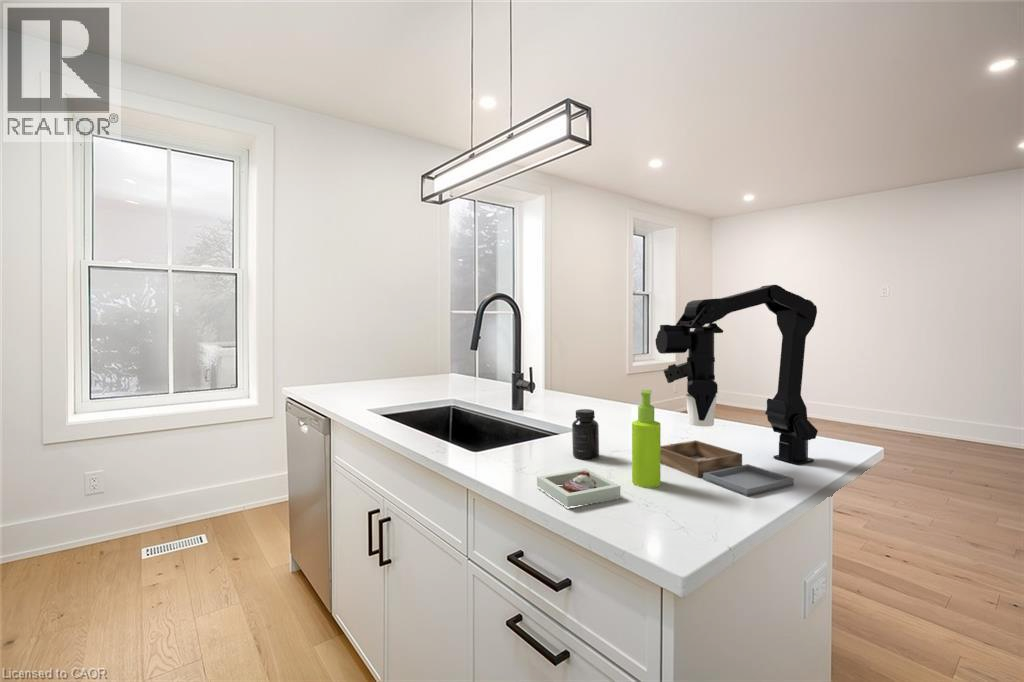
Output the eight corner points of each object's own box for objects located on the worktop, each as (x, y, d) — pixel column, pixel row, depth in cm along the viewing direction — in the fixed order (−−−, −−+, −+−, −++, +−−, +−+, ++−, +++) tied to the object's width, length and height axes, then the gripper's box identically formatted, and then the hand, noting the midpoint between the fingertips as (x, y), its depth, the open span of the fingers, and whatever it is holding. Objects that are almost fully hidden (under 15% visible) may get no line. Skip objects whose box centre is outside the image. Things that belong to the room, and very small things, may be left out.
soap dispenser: (660, 478, 103) (660, 388, 102) (660, 488, 96) (660, 393, 96) (633, 475, 105) (633, 387, 104) (631, 485, 98) (630, 392, 97)
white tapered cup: (719, 427, 107) (719, 397, 106) (688, 426, 108) (688, 396, 108) (713, 421, 113) (713, 392, 113) (683, 420, 115) (683, 392, 114)
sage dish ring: (585, 479, 103) (585, 468, 102) (620, 498, 91) (620, 485, 91) (537, 488, 97) (536, 476, 97) (567, 509, 86) (567, 496, 86)
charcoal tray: (747, 470, 107) (747, 464, 107) (793, 485, 97) (793, 478, 97) (703, 479, 102) (703, 472, 101) (747, 496, 92) (747, 489, 91)
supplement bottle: (580, 451, 125) (579, 407, 124) (603, 455, 121) (603, 409, 120) (567, 457, 119) (567, 411, 119) (591, 461, 115) (591, 414, 115)
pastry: (605, 493, 95) (605, 469, 95) (594, 506, 88) (593, 480, 88) (568, 487, 98) (568, 464, 98) (555, 499, 92) (554, 474, 92)
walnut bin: (695, 453, 121) (695, 440, 121) (742, 468, 109) (742, 453, 109) (654, 460, 116) (654, 446, 115) (697, 477, 103) (698, 462, 103)
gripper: (667, 349, 122) (667, 408, 122) (663, 355, 104) (663, 423, 105) (713, 350, 118) (713, 410, 118) (717, 355, 100) (717, 427, 101)
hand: (701, 417), depth 111 cm, fingers closed on white tapered cup, 6 cm apart
